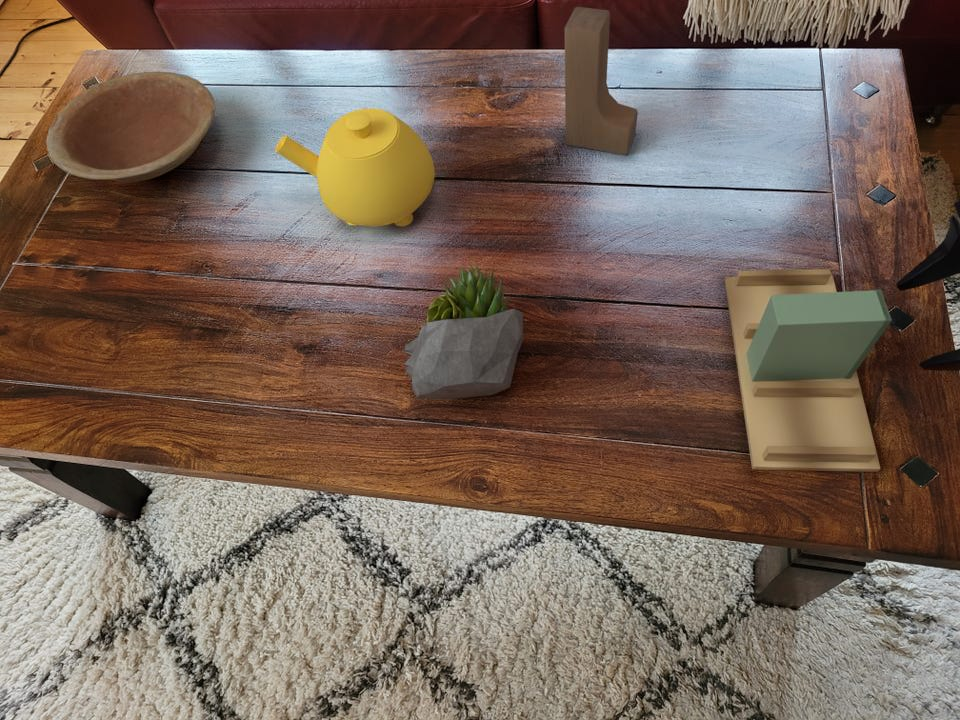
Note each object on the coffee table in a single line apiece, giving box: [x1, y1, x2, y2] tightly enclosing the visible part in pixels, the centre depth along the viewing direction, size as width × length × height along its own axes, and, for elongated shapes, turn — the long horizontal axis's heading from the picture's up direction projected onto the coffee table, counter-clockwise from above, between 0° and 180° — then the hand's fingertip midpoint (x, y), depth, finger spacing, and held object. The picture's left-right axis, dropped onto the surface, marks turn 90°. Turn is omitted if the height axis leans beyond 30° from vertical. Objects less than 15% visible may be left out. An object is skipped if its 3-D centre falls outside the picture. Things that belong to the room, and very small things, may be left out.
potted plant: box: [403, 263, 524, 401], centre depth 75 cm, size 12×13×15 cm
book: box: [746, 289, 893, 381], centre depth 69 cm, size 10×4×11 cm, turn 89°
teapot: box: [274, 107, 436, 227], centre depth 89 cm, size 20×16×14 cm
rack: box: [724, 268, 881, 473], centre depth 74 cm, size 12×24×3 cm, turn 176°
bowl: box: [46, 71, 216, 183], centre depth 101 cm, size 24×24×8 cm
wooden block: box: [564, 6, 639, 156], centre depth 89 cm, size 9×4×18 cm, turn 69°
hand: (909, 325), depth 66 cm, fingers open, 9 cm apart
